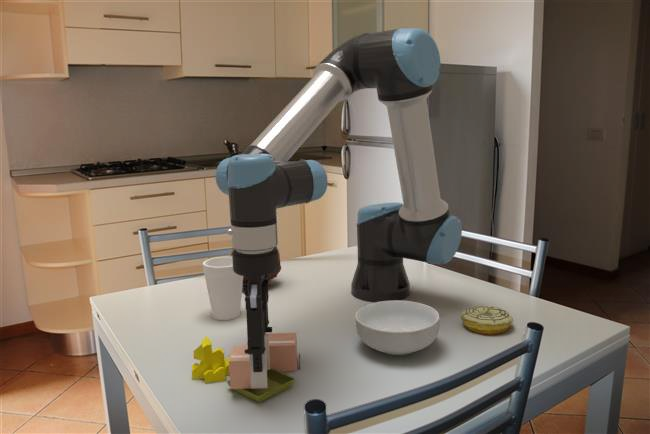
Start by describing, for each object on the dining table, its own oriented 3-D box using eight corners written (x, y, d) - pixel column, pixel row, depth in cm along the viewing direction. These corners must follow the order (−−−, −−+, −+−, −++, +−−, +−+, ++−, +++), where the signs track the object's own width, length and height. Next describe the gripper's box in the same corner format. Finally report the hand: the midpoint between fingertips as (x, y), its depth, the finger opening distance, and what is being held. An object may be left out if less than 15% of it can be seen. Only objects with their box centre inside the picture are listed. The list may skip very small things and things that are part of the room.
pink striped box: (300, 356, 111) (299, 331, 110) (299, 370, 105) (299, 344, 104) (250, 358, 111) (249, 333, 110) (247, 372, 105) (246, 346, 104)
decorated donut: (520, 326, 124) (521, 309, 124) (498, 341, 117) (498, 324, 116) (476, 315, 131) (477, 299, 131) (452, 328, 124) (453, 312, 123)
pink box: (263, 371, 102) (261, 344, 101) (260, 388, 96) (259, 359, 95) (235, 372, 102) (233, 345, 101) (230, 389, 96) (228, 360, 95)
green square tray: (225, 392, 99) (225, 381, 99) (263, 374, 105) (263, 363, 105) (259, 409, 93) (258, 397, 93) (296, 389, 100) (296, 378, 99)
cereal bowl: (354, 331, 123) (354, 300, 122) (432, 330, 123) (432, 299, 121) (356, 366, 107) (356, 330, 105) (446, 366, 106) (446, 330, 105)
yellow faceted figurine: (238, 379, 103) (235, 339, 101) (192, 385, 101) (189, 344, 99) (235, 365, 108) (233, 326, 107) (192, 370, 107) (189, 331, 105)
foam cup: (238, 323, 129) (235, 268, 126) (199, 321, 131) (196, 266, 128) (251, 309, 138) (249, 257, 135) (215, 307, 140) (212, 255, 137)
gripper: (238, 236, 104) (245, 355, 108) (223, 264, 85) (232, 407, 89) (280, 234, 104) (284, 353, 108) (274, 263, 85) (280, 405, 90)
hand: (260, 377), depth 99 cm, fingers closed on pink box, 6 cm apart
